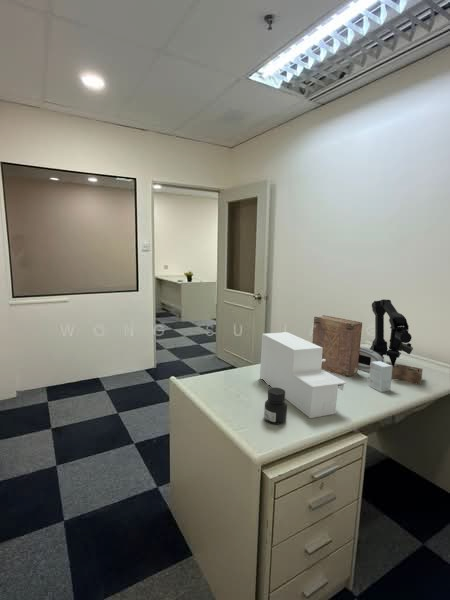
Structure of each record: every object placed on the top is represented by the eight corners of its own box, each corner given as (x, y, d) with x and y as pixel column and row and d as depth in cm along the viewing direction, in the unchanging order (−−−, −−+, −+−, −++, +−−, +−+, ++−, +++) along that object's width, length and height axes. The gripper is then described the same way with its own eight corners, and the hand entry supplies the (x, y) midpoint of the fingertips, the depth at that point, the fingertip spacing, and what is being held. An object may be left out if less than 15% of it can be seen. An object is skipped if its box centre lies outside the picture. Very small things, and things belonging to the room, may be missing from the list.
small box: (390, 390, 160) (393, 365, 158) (380, 392, 158) (383, 367, 156) (377, 384, 167) (380, 360, 166) (368, 385, 165) (370, 361, 163)
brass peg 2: (407, 379, 174) (409, 369, 174) (408, 377, 178) (409, 367, 177) (416, 381, 172) (417, 370, 171) (417, 379, 175) (418, 368, 175)
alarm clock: (340, 364, 198) (341, 344, 196) (345, 362, 202) (346, 342, 200) (378, 375, 181) (380, 353, 179) (383, 372, 185) (385, 351, 183)
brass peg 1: (387, 375, 180) (388, 365, 179) (388, 373, 183) (389, 363, 182) (395, 377, 178) (396, 366, 177) (396, 375, 181) (397, 364, 180)
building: (346, 412, 136) (351, 356, 132) (310, 419, 129) (314, 360, 126) (288, 375, 177) (291, 331, 174) (258, 378, 171) (260, 333, 167)
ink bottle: (260, 414, 132) (261, 386, 131) (280, 412, 134) (282, 385, 133) (269, 426, 123) (270, 397, 121) (290, 424, 125) (292, 395, 123)
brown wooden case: (310, 364, 196) (313, 316, 191) (319, 361, 202) (322, 314, 197) (349, 377, 176) (353, 324, 172) (357, 373, 182) (362, 322, 178)
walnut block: (382, 376, 179) (384, 366, 178) (385, 371, 187) (386, 361, 186) (420, 384, 169) (421, 373, 168) (421, 379, 177) (422, 368, 176)
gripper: (411, 344, 165) (408, 373, 168) (414, 337, 181) (411, 363, 183) (387, 340, 172) (384, 368, 174) (392, 334, 187) (389, 359, 189)
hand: (393, 365), depth 180 cm, fingers closed, pressing on brass peg 1
